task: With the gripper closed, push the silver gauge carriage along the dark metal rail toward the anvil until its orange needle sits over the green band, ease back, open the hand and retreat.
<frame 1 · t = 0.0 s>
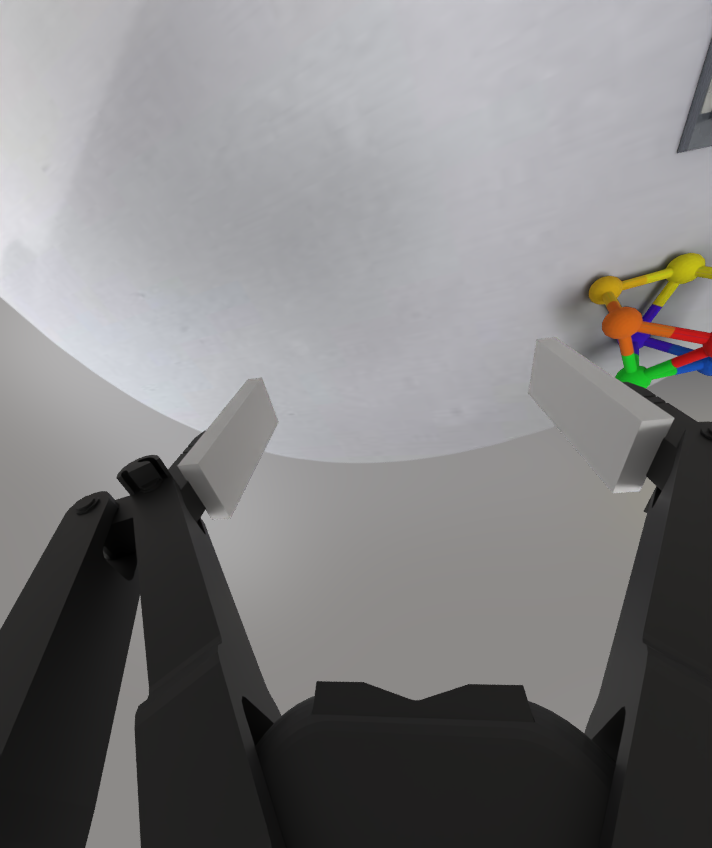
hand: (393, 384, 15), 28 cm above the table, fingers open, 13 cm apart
educational toy: (632, 310, 38), on the table
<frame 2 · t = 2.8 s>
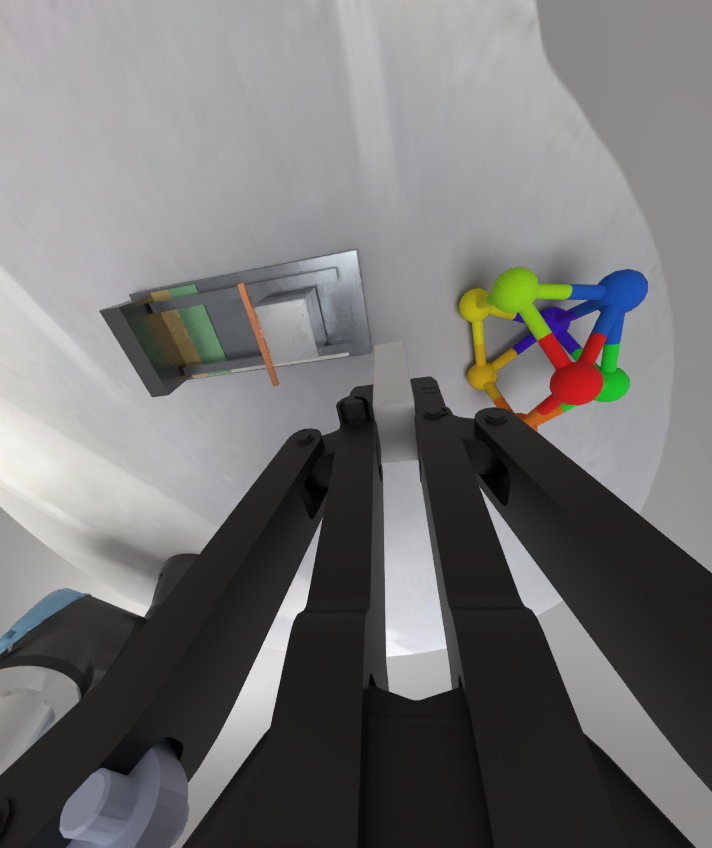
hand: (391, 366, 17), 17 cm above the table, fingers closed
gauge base: (257, 321, 34), on the table
educational toy: (514, 321, 32), on the table
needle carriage: (291, 326, 29), point 4 cm above the table, slide at 0.0 cm
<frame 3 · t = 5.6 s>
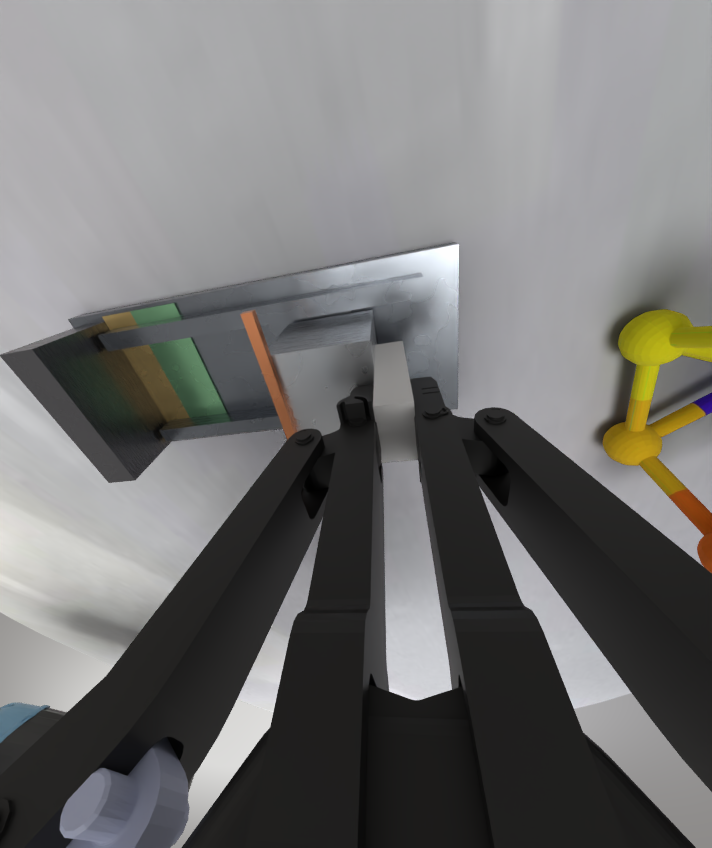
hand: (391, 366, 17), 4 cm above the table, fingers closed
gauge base: (276, 359, 21), on the table
educational toy: (697, 360, 20), on the table
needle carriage: (333, 378, 17), point 5 cm above the table, slide at 0.4 cm, touching gripper
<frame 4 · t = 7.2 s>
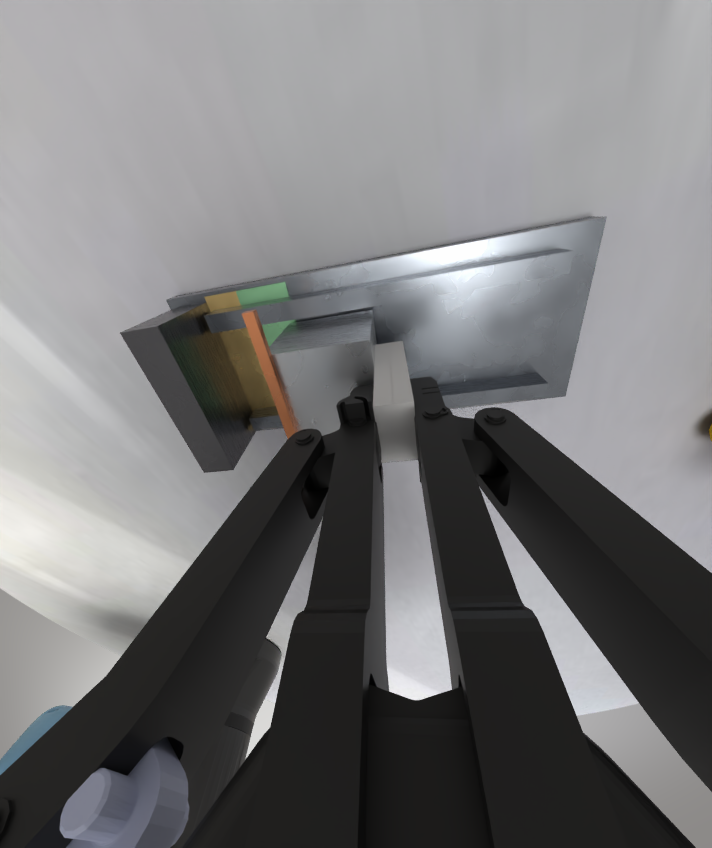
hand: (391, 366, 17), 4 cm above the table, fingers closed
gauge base: (375, 343, 20), on the table
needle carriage: (333, 377, 17), point 5 cm above the table, slide at 7.3 cm, touching gripper
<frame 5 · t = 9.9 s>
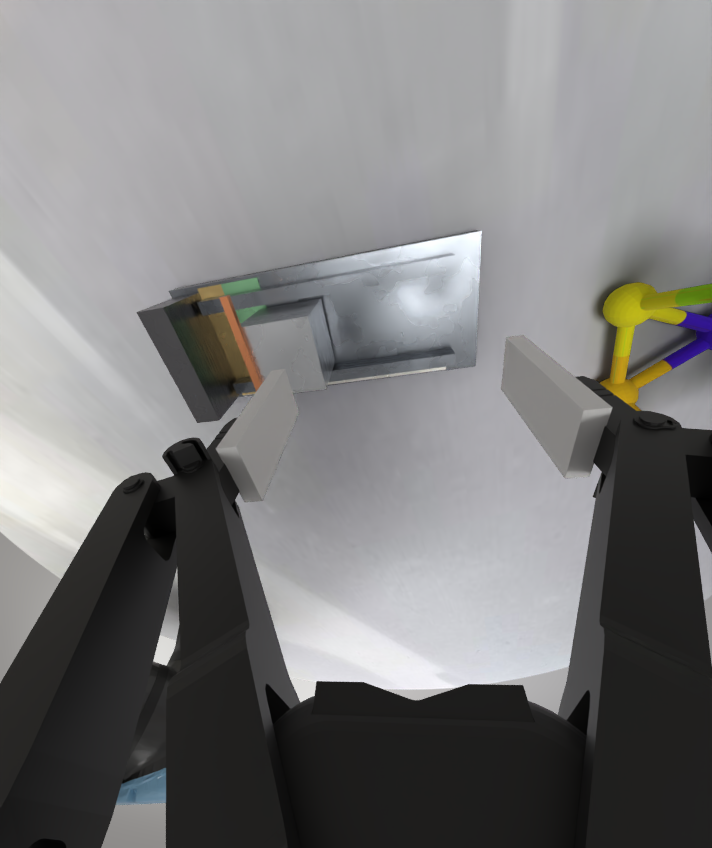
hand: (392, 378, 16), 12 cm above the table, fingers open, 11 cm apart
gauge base: (329, 325, 26), on the table
educational toy: (665, 326, 25), on the table
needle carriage: (291, 348, 23), point 4 cm above the table, slide at 7.4 cm
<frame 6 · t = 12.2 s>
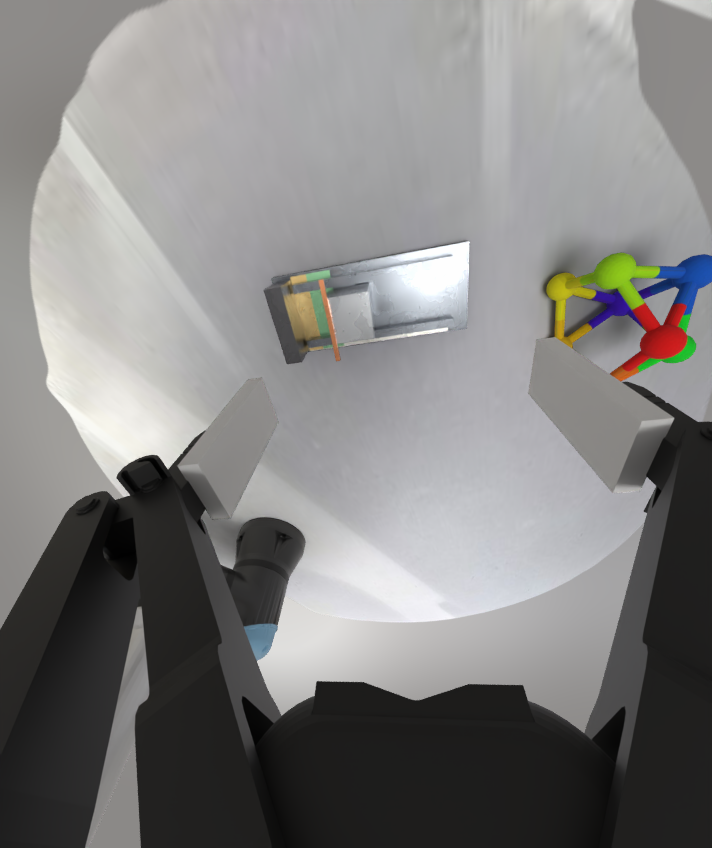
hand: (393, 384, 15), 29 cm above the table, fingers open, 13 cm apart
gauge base: (371, 302, 40), on the table
educational toy: (588, 301, 39), on the table
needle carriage: (351, 313, 37), point 4 cm above the table, slide at 7.4 cm
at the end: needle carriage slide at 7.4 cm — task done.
